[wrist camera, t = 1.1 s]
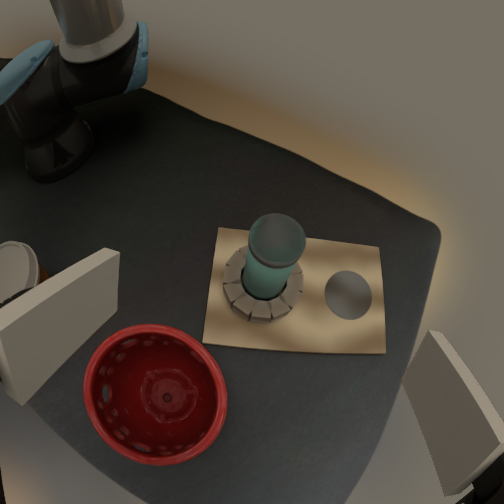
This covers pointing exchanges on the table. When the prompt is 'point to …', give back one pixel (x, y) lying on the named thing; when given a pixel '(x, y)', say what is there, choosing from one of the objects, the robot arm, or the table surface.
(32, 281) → the disposable coffee cup
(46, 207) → the table surface
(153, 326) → the plant pot
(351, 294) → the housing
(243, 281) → the teal cylindrical container
